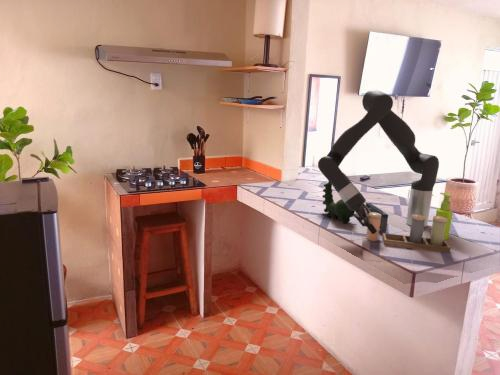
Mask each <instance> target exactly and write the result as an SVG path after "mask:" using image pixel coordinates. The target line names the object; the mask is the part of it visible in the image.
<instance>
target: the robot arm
mask: <svg viewBox="0 0 500 375" xmlns="http://www.w3.org/2000/svg"><path fill="white" fill-rule="evenodd" d="M361 102H362V107H363V109H364V111H365V112H367V113H366V114H365V115H363V117H362V119H360V120H359V121H358V122H357V123H355V124H353V125H352V126H350V127H348V128H347V129H346V130H344V132H343V133H341V134H340V136H339V137H338V138H337V139H336V141H335V142H334V144H333V145H332V146H331V150H330V151H329V152H328V153H327V155H324V156H323V157H321V158H320V159H319V160H318V161H317V167H318V169H319V171H320V172H321V174H322V175H323V176H324V177H325V178H326V179H327V181H328V182H329V181H330V183H331V184H332V187H333V189H334V190H335V192H337V193H338V195H339V197H340V200H341V199H342V200H343V201H344V203H345V204H346V205H347V207H348V208H349V209H350V211H353V210H355V213H354V216H353V217H354V218H355V219H356V220H357V221H358V222H359V223H360V225H361V226H362V227H365V228H368V229H369V230H370V232H371V233H372V234H374V233H376V232H377V230H376V229H375V227H374V226H373V225H372V223H371V222H370V220H369V218H370V217H369V213H370V212H374V211H373V209H372V208H371V207H370V205H368V206H366V201H367V200H366V198H365V197H364V196H363V194H362V193H361V192H360V190H359V189H358V188H357V187H356V185H354V183H352V182H353V181H351V180H350V178H349V177H348V176H347V175H346V173H344V172H343V171H342V170H341V168H340V165H341V163H342V162H343V161H344V159H345V158H346V156H348V154H349V153H350V152H351V151H352V149H353V148H354V147H355V146H356V145H357V143H358V142H359V141H360V140H361V139H362V138H363V137H364V136H365V135H366V134H367V133H368V132H369V131H371V129H372V128H374V127H375V126H376V125H377V124H379V126H380V128H381V129H382V131H383V132H384V133H385V135H386V136H387V138H388V139H389V140H390V141H391V143H392V144H393V146H395V147H396V149H397V150H398V151H399V152H400V154H401V155H402V156H403V158H404V159H405V161H406V163H407V165H408V166H409V168H410V170H411V171H413V172H414V173H416V174H420V175H421V178H420V179H418V180H413V181H412V182H411V184H410V186H411V187H410V193H409V199H408V207H407V213H406V221H405V223H406V224H407V225H408V226H411V222H412V214H421V215H424V216H426V218H425V223H424V228H426V227H428V222H429V218H430V217H429V216H430V211H431V204H432V196H433V191H434V187H435V184H436V181H437V177H438V172H439V167H440V161H439V158H438V156H436V155H432V154H427V153H423V152H421V151H419V150H418V148H417V147H416V146H415V145H416V135H415V132H414V131H413V130H412V129H411V127H410V126H409V124H408V123H407V122H406V121H405V120H403V119H402V118H401V117H400V116H399V115H397V114H396V113H395V112H394V111H393V110H392V109H393V105H394V101H393V98H392V96H391V95H390V94H387V93H385V92H383V91H382V90H381V91H380V90H378V89H371V90H368V91H366V92H365V93H364V94H363V95H362V101H361ZM381 227H382V226H381V225H380V228H381ZM380 228H379V229H380Z"/></svg>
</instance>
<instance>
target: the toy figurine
mask: <svg viewBox="0 0 500 375" xmlns="http://www.w3.org/2000/svg"><path fill="white" fill-rule="evenodd" d="M323 187H324V189H322V192H323V193H324V194H323V195H322V196H321V197H322V198H324V200H323V201H322V205H325V208H324V210H323V212H324V213H326V216H327V217H330V218H331V219H336V218H340V221H341V223H343V224H347V223H350V221H351V218H352V217H355V216H354V214H356V211H355V210H353V211H350V209H349V208H348V207H347V205H346V204H345V203H344V201H343V200H342V199H341V198H340V199H339V200H337V201H336V202H334V201H335V200H334V199H333V198H334V194H333V188H332V187H333V185H332V184H331V183H330V181H329V180H328V182H326V183H325V184H323Z"/></svg>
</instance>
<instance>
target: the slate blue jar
mask: <svg viewBox="0 0 500 375" xmlns="http://www.w3.org/2000/svg"><path fill="white" fill-rule="evenodd" d="M425 218H426V216H424V215H421V214H412V222H411V225H410V230H409V235H408V236H409V242H412V243H420V244H421V242H422V237H423V235H424V228H425V227H424V223H425Z"/></svg>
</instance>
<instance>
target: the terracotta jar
mask: <svg viewBox="0 0 500 375" xmlns="http://www.w3.org/2000/svg"><path fill="white" fill-rule="evenodd" d="M369 217H370V218H369V220H370V222H371V223H372V225H373V226H374V227H375V229H376V230H377V232H376V233H374V234H372V233H371V232H370V230H369V229H368V228H367V227H366V228H367V229H366V236H365V240H367V241H370V242H377V241H379V234H380V233H379V228H380V221H381V214H379V213H375V212H370V213H369Z"/></svg>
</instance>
